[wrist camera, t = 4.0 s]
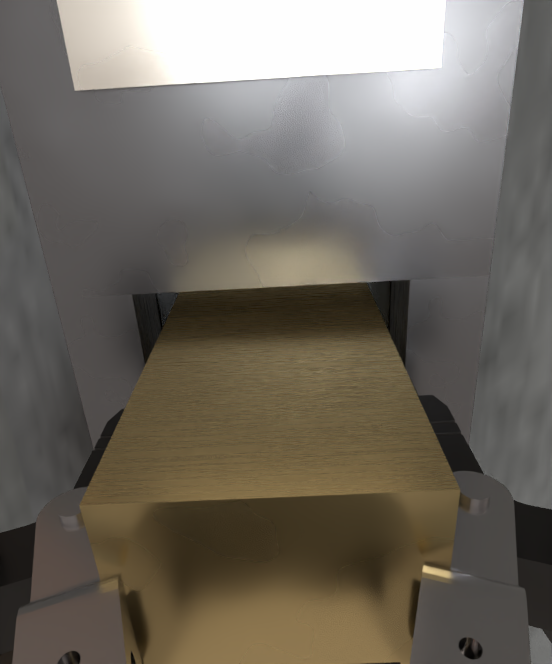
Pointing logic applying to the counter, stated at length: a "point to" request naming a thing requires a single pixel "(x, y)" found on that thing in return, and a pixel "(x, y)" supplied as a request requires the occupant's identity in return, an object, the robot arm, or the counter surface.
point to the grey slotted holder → (262, 165)
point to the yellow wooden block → (273, 484)
